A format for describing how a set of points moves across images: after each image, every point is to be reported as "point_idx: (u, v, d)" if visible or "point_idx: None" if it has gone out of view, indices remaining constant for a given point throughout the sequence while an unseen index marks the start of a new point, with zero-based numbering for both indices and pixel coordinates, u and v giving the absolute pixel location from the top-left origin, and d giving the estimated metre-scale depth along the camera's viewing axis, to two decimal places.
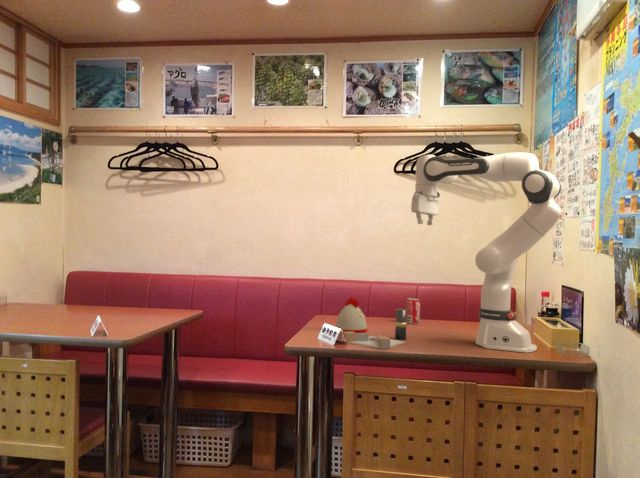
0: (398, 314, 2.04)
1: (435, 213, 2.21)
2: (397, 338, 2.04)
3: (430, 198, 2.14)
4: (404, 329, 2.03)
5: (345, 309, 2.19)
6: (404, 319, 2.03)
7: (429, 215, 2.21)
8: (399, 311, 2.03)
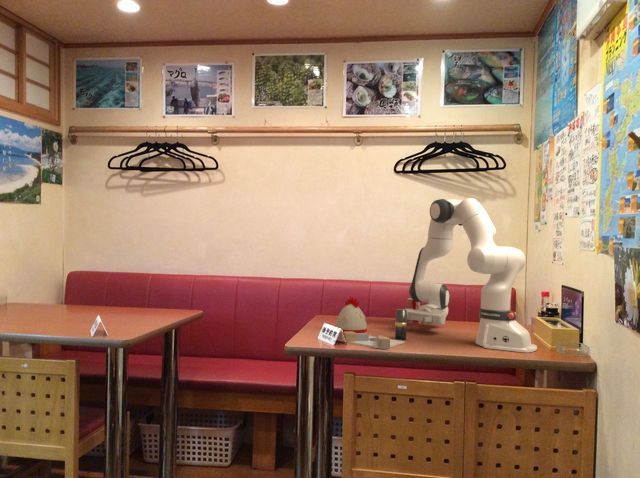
0: (398, 314, 2.04)
1: (433, 314, 2.15)
2: (397, 338, 2.04)
3: (422, 308, 2.25)
4: (404, 329, 2.03)
5: (345, 309, 2.19)
6: (404, 319, 2.03)
7: None
8: (399, 311, 2.03)
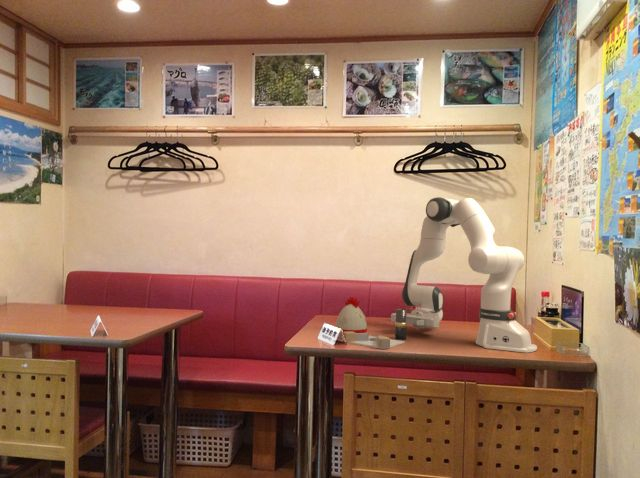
0: (398, 314, 2.04)
1: (425, 318, 2.09)
2: (397, 338, 2.04)
3: (415, 311, 2.18)
4: (404, 329, 2.03)
5: (345, 309, 2.19)
6: (404, 319, 2.03)
7: None
8: (399, 311, 2.03)
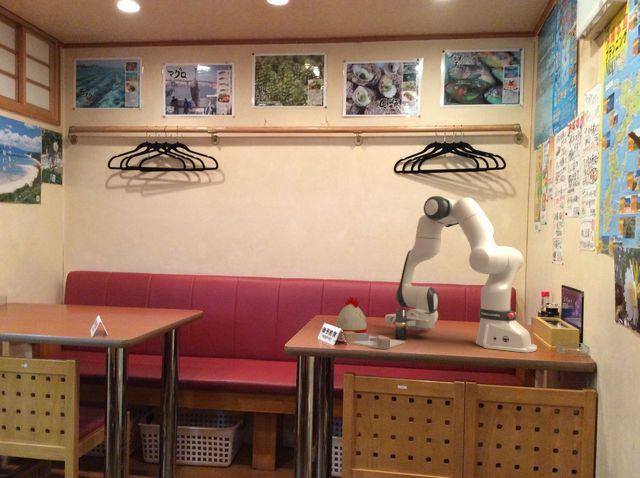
0: (398, 314, 2.04)
1: (420, 319, 2.05)
2: (397, 338, 2.04)
3: (409, 313, 2.14)
4: (404, 329, 2.03)
5: (345, 309, 2.19)
6: (404, 319, 2.03)
7: None
8: (399, 311, 2.03)
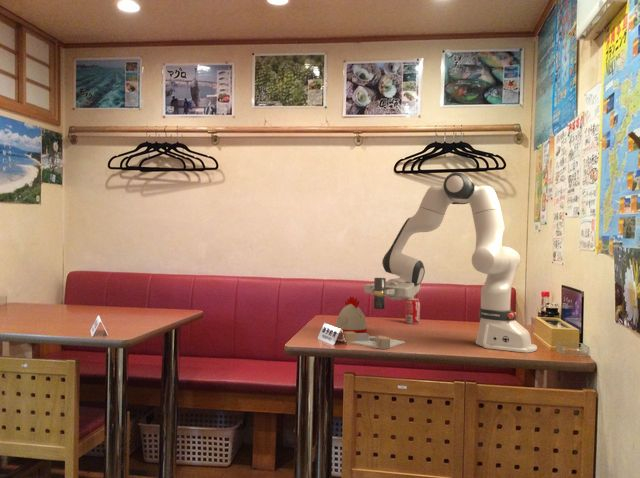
0: (376, 282, 1.97)
1: (399, 287, 1.99)
2: (375, 307, 1.98)
3: (389, 282, 2.08)
4: (383, 298, 1.97)
5: (345, 309, 2.19)
6: (383, 287, 1.97)
7: None
8: (377, 279, 1.97)
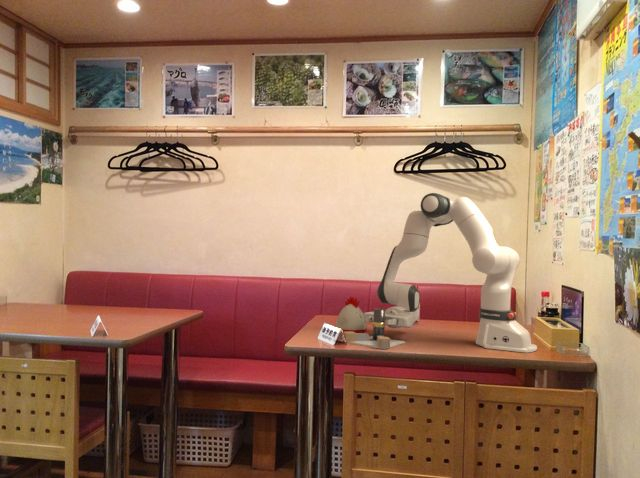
0: (376, 313, 1.97)
1: (398, 317, 1.98)
2: (375, 338, 1.97)
3: (389, 310, 2.08)
4: (382, 329, 1.97)
5: (345, 309, 2.19)
6: (382, 319, 1.97)
7: None
8: (377, 310, 1.97)
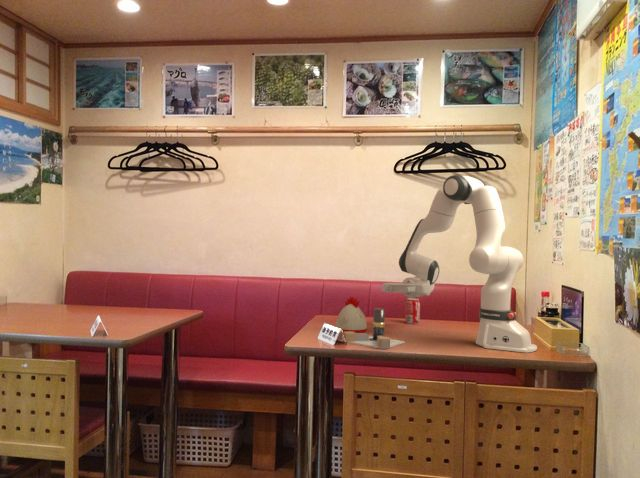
0: (376, 313, 1.97)
1: (416, 284, 2.09)
2: (375, 338, 1.97)
3: (406, 280, 2.19)
4: (382, 329, 1.97)
5: (345, 309, 2.19)
6: (382, 319, 1.97)
7: None
8: (377, 310, 1.97)
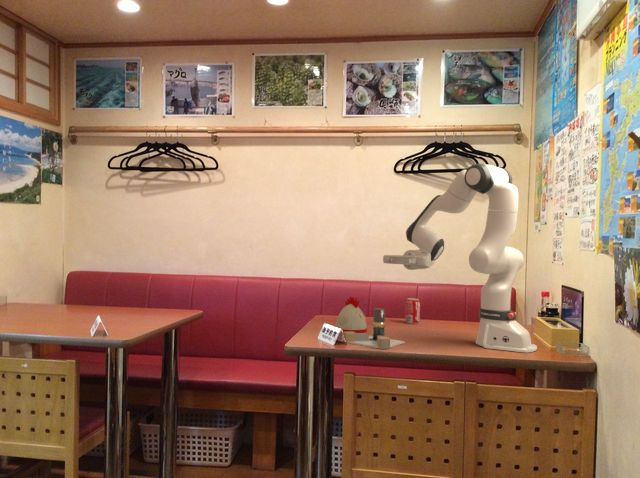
0: (376, 313, 1.97)
1: (417, 256, 2.10)
2: (375, 338, 1.97)
3: (407, 253, 2.20)
4: (382, 329, 1.97)
5: (345, 309, 2.19)
6: (382, 319, 1.97)
7: None
8: (377, 310, 1.97)
